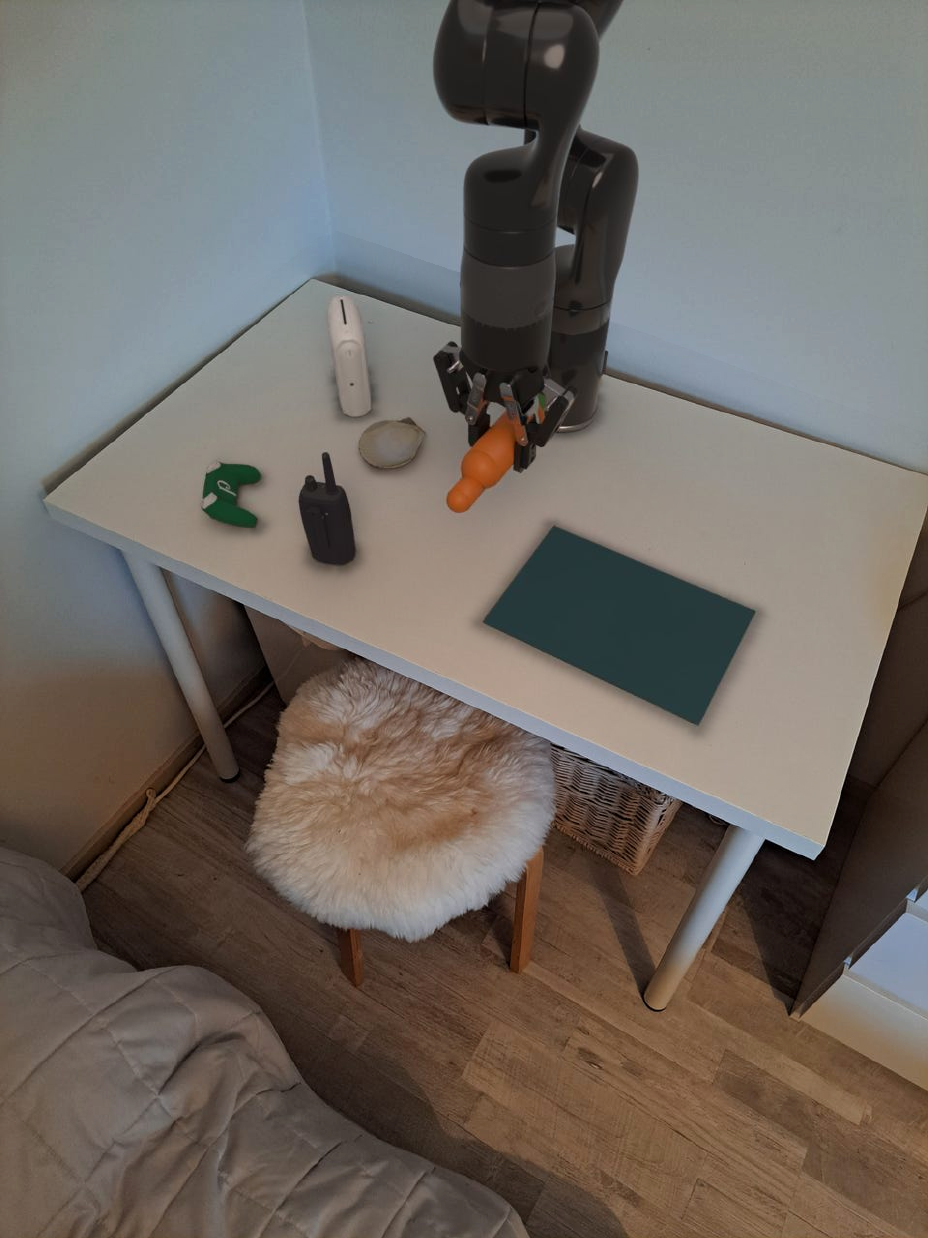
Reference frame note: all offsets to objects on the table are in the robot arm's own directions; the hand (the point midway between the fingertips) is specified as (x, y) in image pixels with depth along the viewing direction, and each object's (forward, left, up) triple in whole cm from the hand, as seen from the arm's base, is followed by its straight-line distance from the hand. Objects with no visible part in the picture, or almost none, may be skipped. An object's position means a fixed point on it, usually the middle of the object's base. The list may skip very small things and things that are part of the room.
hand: (500, 457), depth 81 cm
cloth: (0, +15, -15) cm, 21 cm away
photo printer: (-16, -31, -15) cm, 38 cm away
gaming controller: (+8, -31, -15) cm, 36 cm away
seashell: (-9, -20, -15) cm, 27 cm away
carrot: (-1, 0, -1) cm, 1 cm away
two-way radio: (+9, -16, -15) cm, 24 cm away
